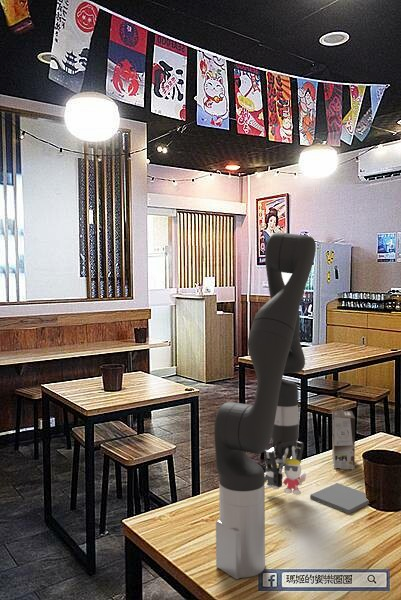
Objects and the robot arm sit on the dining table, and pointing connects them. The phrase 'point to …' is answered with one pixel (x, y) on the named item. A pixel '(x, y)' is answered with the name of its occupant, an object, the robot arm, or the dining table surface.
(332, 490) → the mat
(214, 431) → the robot arm
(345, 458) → the coffee box
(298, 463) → the toy figures
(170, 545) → the dining table surface
